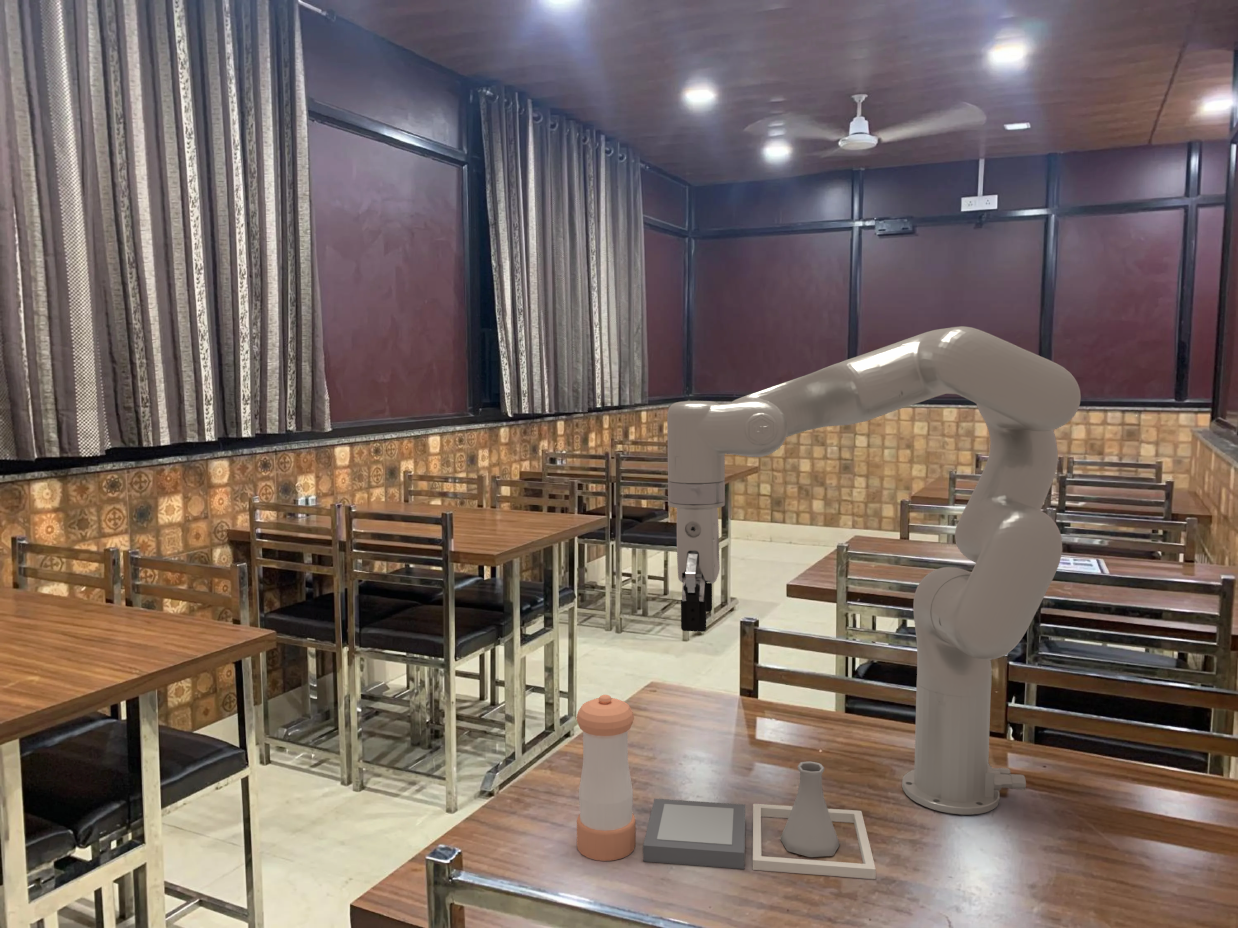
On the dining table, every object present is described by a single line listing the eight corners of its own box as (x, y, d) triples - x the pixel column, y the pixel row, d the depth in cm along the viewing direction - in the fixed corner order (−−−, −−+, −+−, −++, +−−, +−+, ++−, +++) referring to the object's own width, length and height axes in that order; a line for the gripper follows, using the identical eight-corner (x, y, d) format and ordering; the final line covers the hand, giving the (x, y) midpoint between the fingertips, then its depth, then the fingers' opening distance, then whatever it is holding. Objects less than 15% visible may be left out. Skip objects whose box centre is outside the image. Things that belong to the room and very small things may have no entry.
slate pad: (745, 818, 116) (745, 803, 115) (744, 868, 104) (744, 851, 104) (654, 812, 117) (654, 797, 117) (643, 861, 106) (643, 844, 105)
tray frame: (861, 819, 115) (861, 810, 115) (875, 879, 102) (875, 869, 101) (753, 812, 117) (753, 803, 117) (752, 869, 104) (752, 859, 104)
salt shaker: (643, 835, 112) (642, 688, 110) (624, 865, 105) (623, 709, 103) (589, 826, 114) (588, 682, 112) (567, 855, 107) (566, 702, 105)
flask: (841, 862, 105) (842, 781, 104) (779, 856, 107) (780, 776, 106) (838, 831, 112) (839, 756, 111) (780, 826, 114) (781, 751, 113)
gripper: (720, 503, 108) (720, 640, 109) (728, 486, 125) (729, 605, 126) (659, 503, 109) (660, 638, 111) (675, 486, 126) (677, 603, 128)
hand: (697, 620), depth 118 cm, fingers open, 9 cm apart
